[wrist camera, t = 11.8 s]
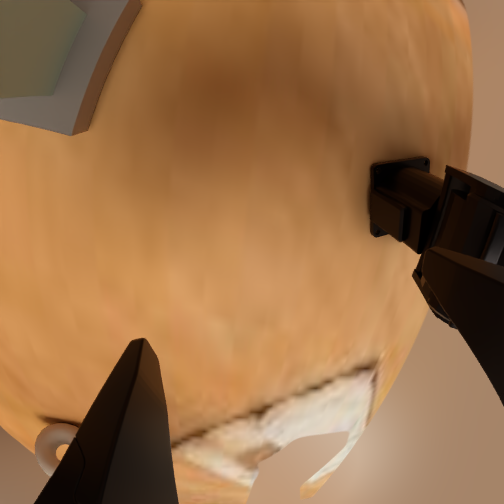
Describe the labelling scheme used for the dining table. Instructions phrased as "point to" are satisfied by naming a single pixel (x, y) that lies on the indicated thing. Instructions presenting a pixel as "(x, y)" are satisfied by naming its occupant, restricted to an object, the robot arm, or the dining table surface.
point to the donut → (52, 444)
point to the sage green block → (35, 44)
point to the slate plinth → (78, 71)
